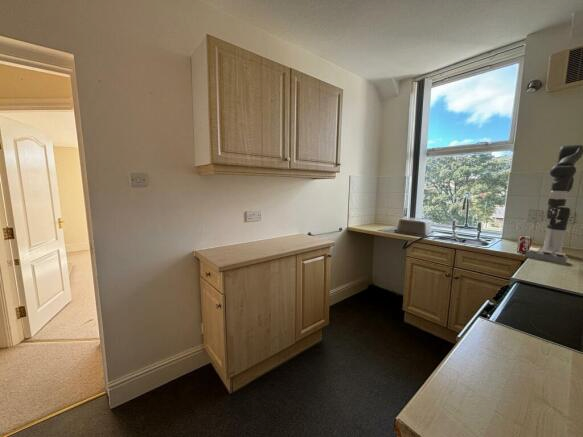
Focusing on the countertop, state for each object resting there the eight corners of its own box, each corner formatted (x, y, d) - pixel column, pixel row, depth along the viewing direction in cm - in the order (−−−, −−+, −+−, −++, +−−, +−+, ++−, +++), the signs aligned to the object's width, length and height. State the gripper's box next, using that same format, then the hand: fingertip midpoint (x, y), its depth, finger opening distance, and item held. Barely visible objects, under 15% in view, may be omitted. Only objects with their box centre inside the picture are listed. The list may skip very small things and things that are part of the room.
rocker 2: (556, 253, 156) (556, 252, 156) (565, 255, 153) (565, 253, 153) (555, 253, 153) (555, 251, 153) (564, 255, 149) (565, 253, 149)
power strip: (527, 255, 168) (529, 248, 167) (566, 262, 154) (568, 255, 153) (525, 257, 163) (526, 250, 162) (565, 264, 149) (566, 257, 148)
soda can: (523, 251, 177) (526, 235, 175) (532, 254, 170) (535, 237, 168) (513, 251, 177) (516, 235, 175) (521, 253, 171) (524, 237, 169)
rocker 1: (531, 247, 166) (531, 246, 165) (539, 248, 163) (539, 247, 162) (528, 250, 162) (529, 249, 162) (537, 252, 159) (537, 250, 159)
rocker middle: (543, 251, 161) (543, 249, 161) (551, 253, 158) (552, 251, 158) (541, 251, 157) (542, 249, 157) (550, 252, 154) (551, 250, 154)
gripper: (550, 197, 159) (545, 223, 162) (547, 198, 151) (541, 225, 154) (567, 198, 153) (562, 225, 156) (565, 199, 145) (559, 227, 148)
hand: (552, 225), depth 155 cm, fingers closed
